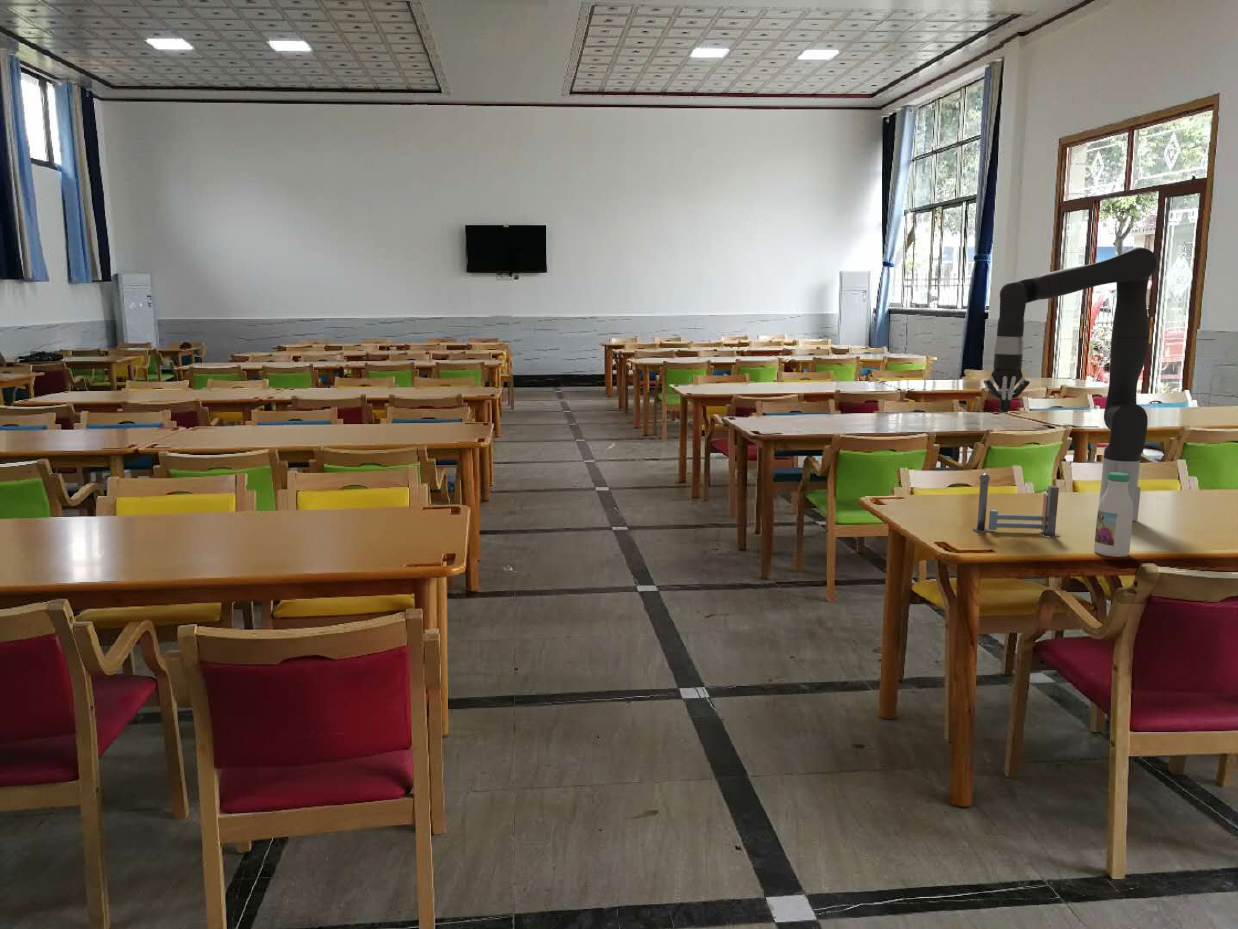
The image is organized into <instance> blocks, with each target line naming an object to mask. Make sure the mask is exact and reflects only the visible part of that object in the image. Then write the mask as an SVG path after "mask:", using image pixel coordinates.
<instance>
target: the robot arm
mask: <svg viewBox="0 0 1238 929" xmlns="http://www.w3.org/2000/svg"><path fill="white" fill-rule="evenodd" d="M1157 266H1158V259H1157V256H1156V255H1155V253H1154V251H1151V250H1150V249H1148V248H1145V247H1142V246H1141V247H1140V246H1138V247H1132V248H1129V249H1127V250H1125V251H1123V252H1122V253H1121V254H1118V255H1116V256H1114V257H1113V256H1112V257H1111V258H1108V259H1105V260H1102V261H1098V262H1095V263H1090V264H1084V265H1080V266H1074V267H1073V266H1072V267H1069V268H1063V269H1059V270H1055V271H1051V272H1046V273H1042V274H1040V275H1038V276H1035V277H1030V278H1024V279H1019V280H1016V281H1015V280H1014V281H1010V282H1009V281H1008V282H1007V283H1006V284H1004V285H1003V286H1002V287H1001V289H1000V291H999V318H998V320H997V329H996V339H995V344H994V356H993V371H992V372H991V375H990V377H989V378H987V379H984V380H983V384H984V385H985V387H986V388H987V389H988V391H989V393H990V394H991V395H992V397H994V398H997V399H998V411H999V412H1000V413H1001V414H1002V413H1003V414H1006V413H1007V414H1008V413H1009V412H1010V410H1011V404H1012V403H1011V402H1012V400H1013V399H1017V398H1018V397H1019V396H1020V395H1021V394H1022V393H1023V391H1025V389H1026V388H1027V387H1028V386H1029V384H1030V383H1031V382H1030V381H1029V380H1027V379H1026V378H1025V377H1023V372H1022V368H1023V367H1022V366H1023V354H1024V353H1023V352H1024V330H1025V319H1024V318H1025V312H1026V306H1027V304H1029V303H1032V302H1035V301H1041V300H1048V299H1053V298H1056V297H1061V296H1065V295H1070V294H1073V293H1076V292H1079V291H1083V290H1087V289H1090V288H1094V287H1098V286H1103V285H1108V284H1113V283H1115V284H1116V302H1115V309H1114V314H1113V321H1112V326H1111V327H1112V329H1111V336H1110V337H1111V338H1110V357H1109V358H1110V359H1109V380H1108V381H1109V382H1108V391H1107V396H1106V402H1105V406H1104V412H1103V420H1104V424H1105V426H1106V427H1107V429H1108V430H1110V435H1109V442H1108V445H1107V446H1105V448H1104V450H1103V457H1102V458H1103V460H1102V471H1101V480H1100V482H1101V483H1100V489H1099V490H1100V491H1099V501H1098V504H1099V503H1100V500H1101V498H1102V497H1103V495H1104V493H1105V492H1106V490H1107V487H1108V484H1109V482H1108V474H1109V473H1111V472H1120V473H1126V474H1129V475H1130V479H1129V483H1128V492H1129V495H1130V497H1131V500H1132V503H1133V521H1132V522H1136V521H1138V520H1139V519H1138V518H1139V509H1140V502H1141V501H1140V499H1141V490H1142V489H1141V487H1140V486H1139V476H1140V467H1141V458H1142V454H1143V453H1144V449H1145V446H1146V438H1147V431H1148V423H1149V422H1148V414H1147V410H1145V409H1144V407H1142V406H1141V405H1139V404H1137V393H1138V392H1137V391H1138V390H1137V388H1138V382H1139V380H1140V379H1139V378H1140V376H1141V374H1142V371H1143V369H1144V366H1145V363H1146V361H1147V358H1148V352H1149V343H1150V322H1149V315H1148V309H1147V308H1148V306H1147V292H1148V285H1149V280H1150V277H1151V276H1152V275H1153V274H1154V273H1155V271H1156V269H1157ZM995 384H996V386H997V388H996V387H995ZM1017 384H1018V385H1017ZM1015 387H1016V388H1015Z"/></svg>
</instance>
